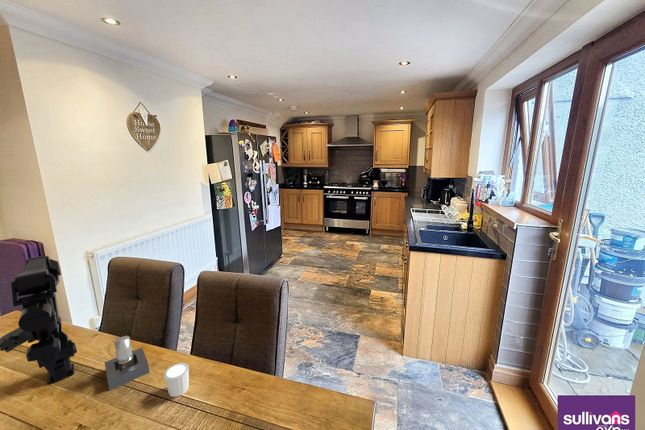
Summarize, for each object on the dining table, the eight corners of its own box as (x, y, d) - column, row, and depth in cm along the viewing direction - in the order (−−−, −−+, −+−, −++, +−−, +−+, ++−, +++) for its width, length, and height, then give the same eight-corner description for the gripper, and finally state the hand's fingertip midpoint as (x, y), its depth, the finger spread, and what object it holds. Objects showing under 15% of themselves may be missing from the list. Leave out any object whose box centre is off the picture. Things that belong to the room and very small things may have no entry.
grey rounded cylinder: (117, 374, 92) (111, 341, 90) (130, 365, 96) (125, 334, 94) (124, 378, 91) (119, 345, 88) (137, 369, 94) (132, 337, 92)
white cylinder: (180, 400, 82) (178, 380, 81) (161, 396, 84) (158, 377, 82) (195, 382, 89) (193, 364, 87) (177, 379, 90) (174, 361, 89)
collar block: (106, 370, 94) (104, 362, 93) (143, 355, 101) (142, 347, 100) (109, 390, 86) (107, 381, 85) (149, 372, 93) (148, 363, 92)
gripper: (3, 311, 79) (15, 358, 82) (-11, 343, 65) (5, 397, 68) (56, 298, 86) (66, 342, 89) (54, 324, 72) (65, 374, 76)
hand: (51, 361), depth 80 cm, fingers open, 9 cm apart
